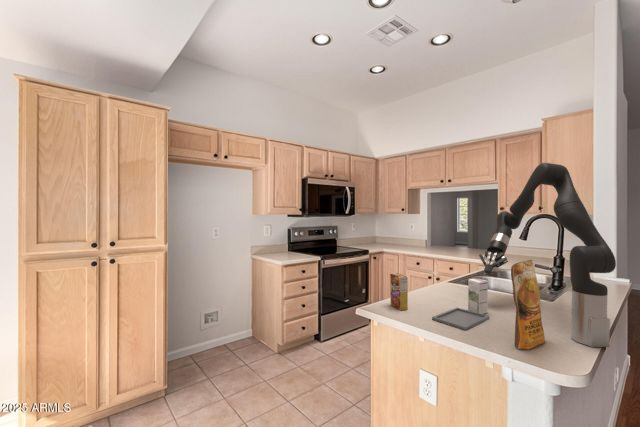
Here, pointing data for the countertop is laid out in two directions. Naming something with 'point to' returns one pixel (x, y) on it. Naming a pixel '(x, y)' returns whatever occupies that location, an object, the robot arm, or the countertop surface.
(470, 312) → the tray
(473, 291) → the syrup box
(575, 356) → the countertop surface
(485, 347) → the countertop surface
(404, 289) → the candy box
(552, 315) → the countertop surface
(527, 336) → the pancake mix bag
